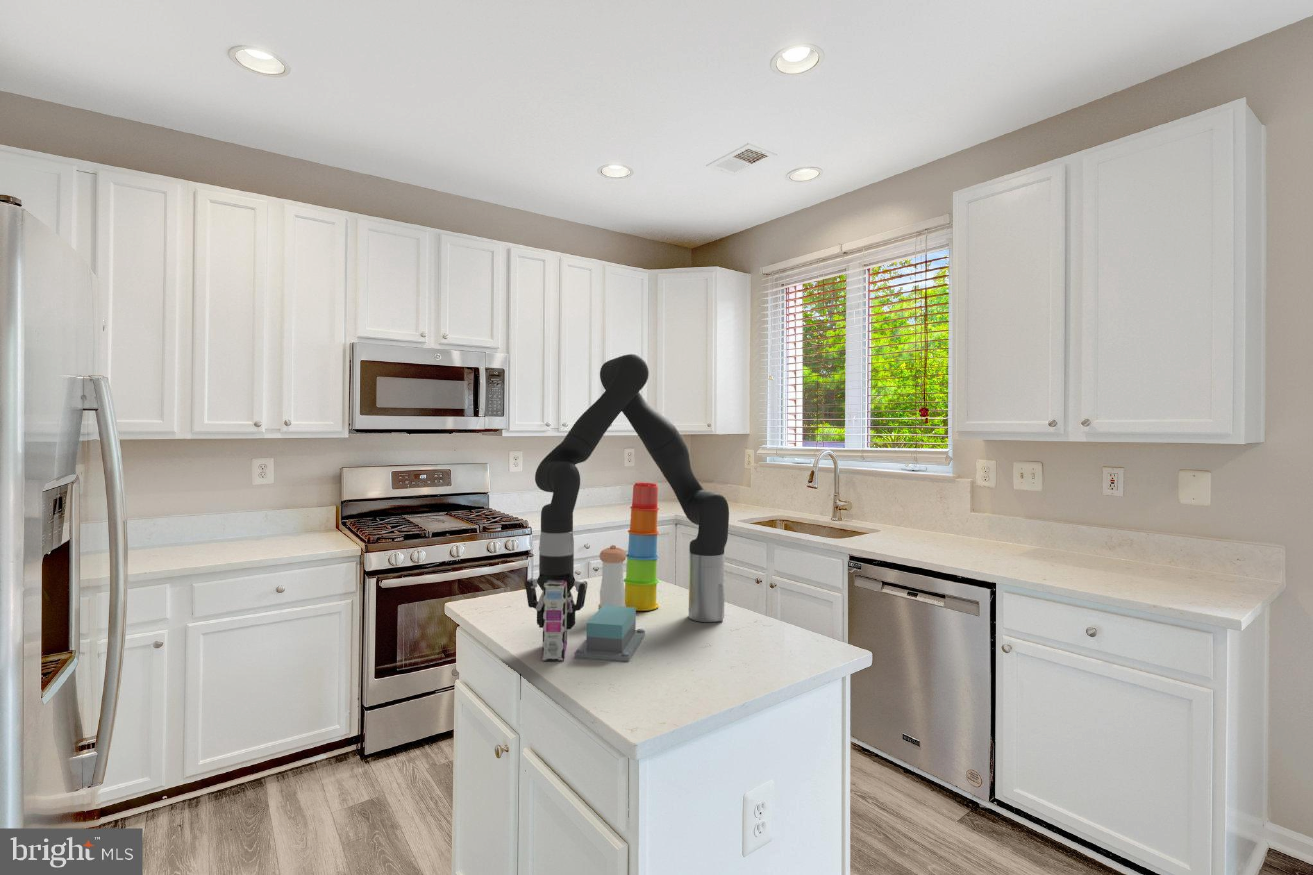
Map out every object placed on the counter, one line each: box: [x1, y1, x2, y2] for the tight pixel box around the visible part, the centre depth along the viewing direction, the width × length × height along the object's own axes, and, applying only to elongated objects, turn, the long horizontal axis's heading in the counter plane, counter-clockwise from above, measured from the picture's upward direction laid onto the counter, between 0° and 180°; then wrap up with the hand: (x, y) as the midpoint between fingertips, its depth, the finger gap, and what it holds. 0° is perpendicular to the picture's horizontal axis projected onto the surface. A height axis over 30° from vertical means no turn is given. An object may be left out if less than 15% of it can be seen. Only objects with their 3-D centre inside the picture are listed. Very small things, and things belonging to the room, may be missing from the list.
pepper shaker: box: [597, 544, 627, 612], centre depth 164 cm, size 7×7×19 cm
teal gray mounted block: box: [574, 606, 646, 662], centre depth 143 cm, size 12×18×7 cm, turn 170°
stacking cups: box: [623, 482, 660, 612], centre depth 175 cm, size 10×10×35 cm
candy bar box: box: [541, 580, 568, 662], centre depth 138 cm, size 11×5×16 cm, turn 5°
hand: (555, 627), depth 138 cm, fingers closed on candy bar box, 5 cm apart
